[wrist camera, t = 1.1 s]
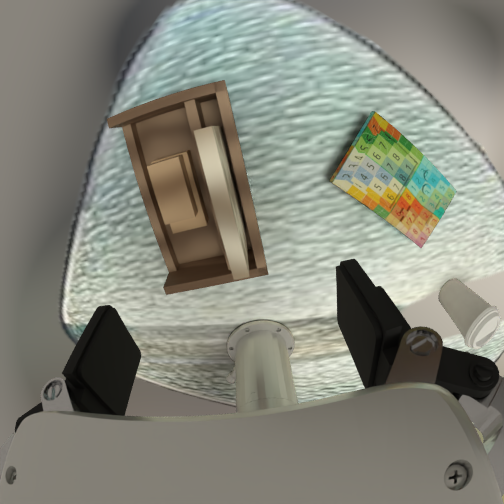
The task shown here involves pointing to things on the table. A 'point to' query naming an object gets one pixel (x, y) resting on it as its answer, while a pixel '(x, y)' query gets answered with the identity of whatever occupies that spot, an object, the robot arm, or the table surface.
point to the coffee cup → (469, 313)
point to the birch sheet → (224, 197)
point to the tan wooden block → (178, 192)
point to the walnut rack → (182, 139)
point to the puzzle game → (394, 180)
